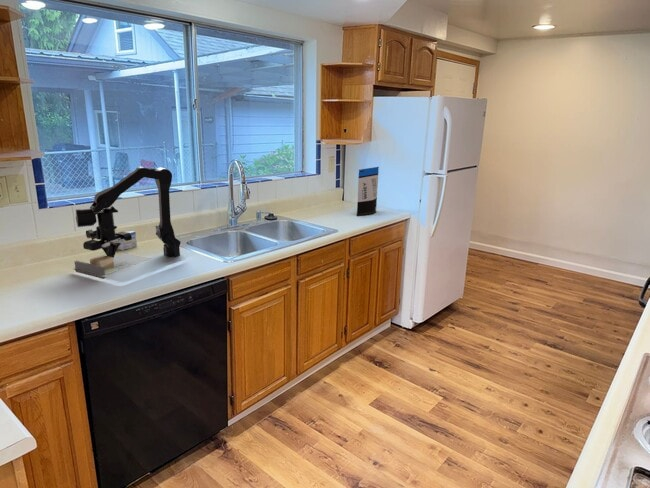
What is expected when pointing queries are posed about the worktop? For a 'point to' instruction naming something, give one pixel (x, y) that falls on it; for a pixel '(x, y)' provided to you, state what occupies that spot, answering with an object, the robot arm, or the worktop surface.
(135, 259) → the trap runway
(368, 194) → the protein powder
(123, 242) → the medicine box
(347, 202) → the worktop surface
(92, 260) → the maple block
